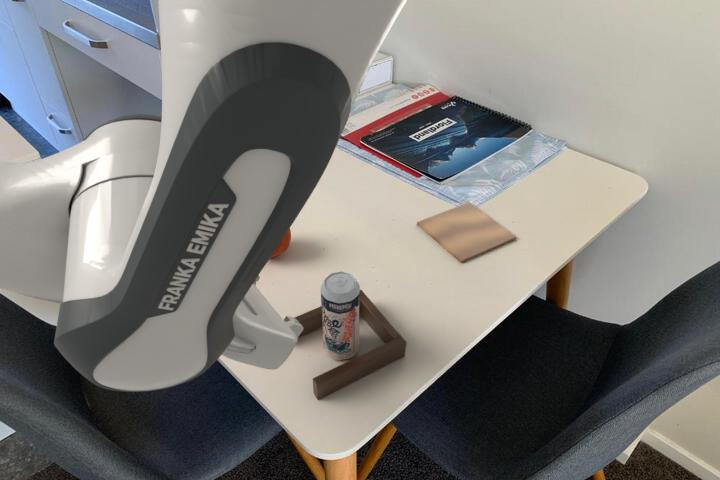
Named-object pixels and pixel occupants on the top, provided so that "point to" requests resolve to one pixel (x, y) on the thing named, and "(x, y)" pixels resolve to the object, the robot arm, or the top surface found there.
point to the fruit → (283, 244)
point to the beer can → (340, 315)
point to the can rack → (363, 363)
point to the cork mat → (466, 231)
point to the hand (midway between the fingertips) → (274, 303)
